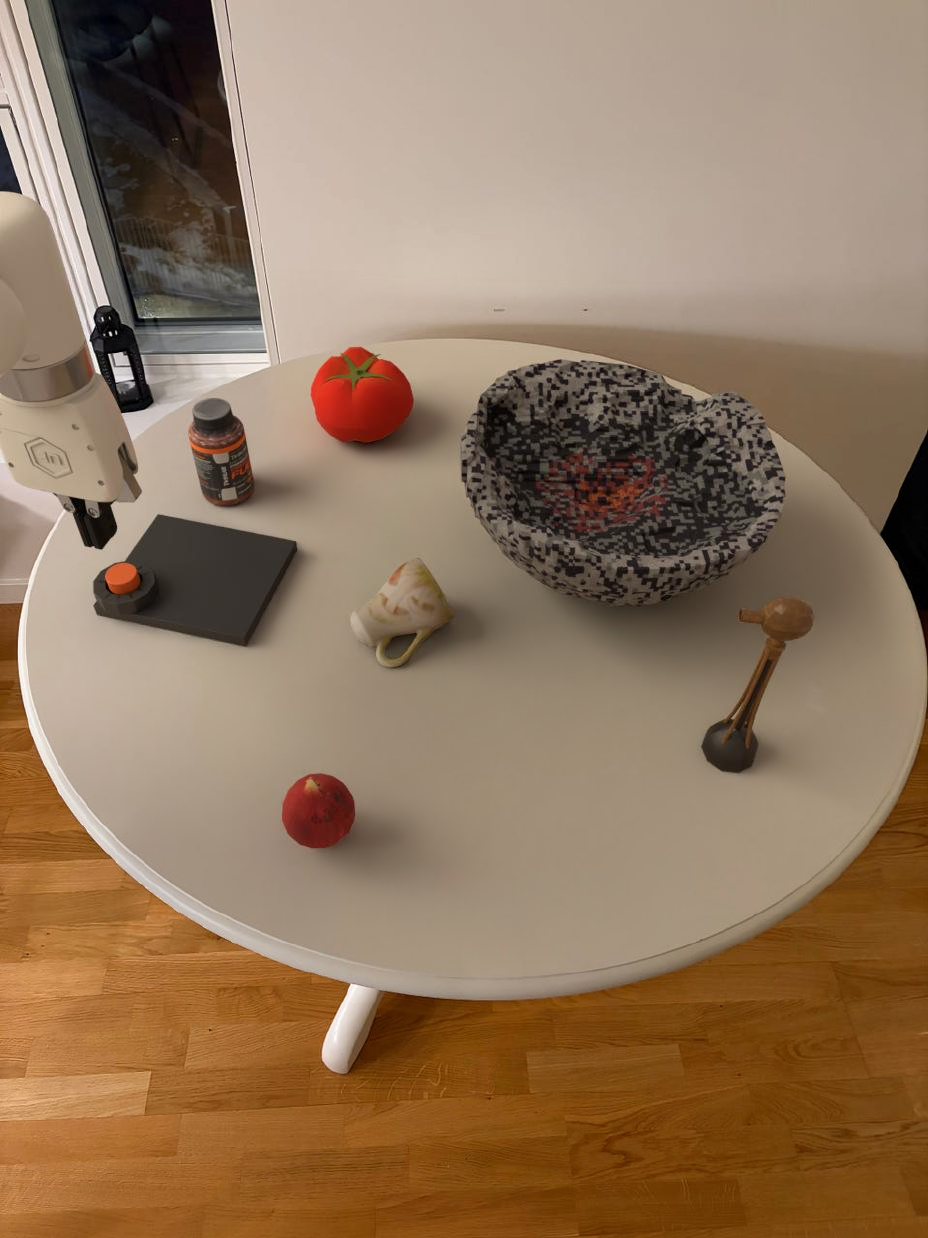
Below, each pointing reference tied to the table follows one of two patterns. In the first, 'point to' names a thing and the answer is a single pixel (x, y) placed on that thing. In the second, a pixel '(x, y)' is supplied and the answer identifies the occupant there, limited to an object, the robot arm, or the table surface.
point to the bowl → (619, 480)
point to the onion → (318, 811)
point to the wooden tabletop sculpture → (756, 683)
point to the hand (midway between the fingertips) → (101, 538)
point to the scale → (199, 580)
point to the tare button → (122, 578)
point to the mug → (402, 611)
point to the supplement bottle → (220, 453)
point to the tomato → (360, 396)
